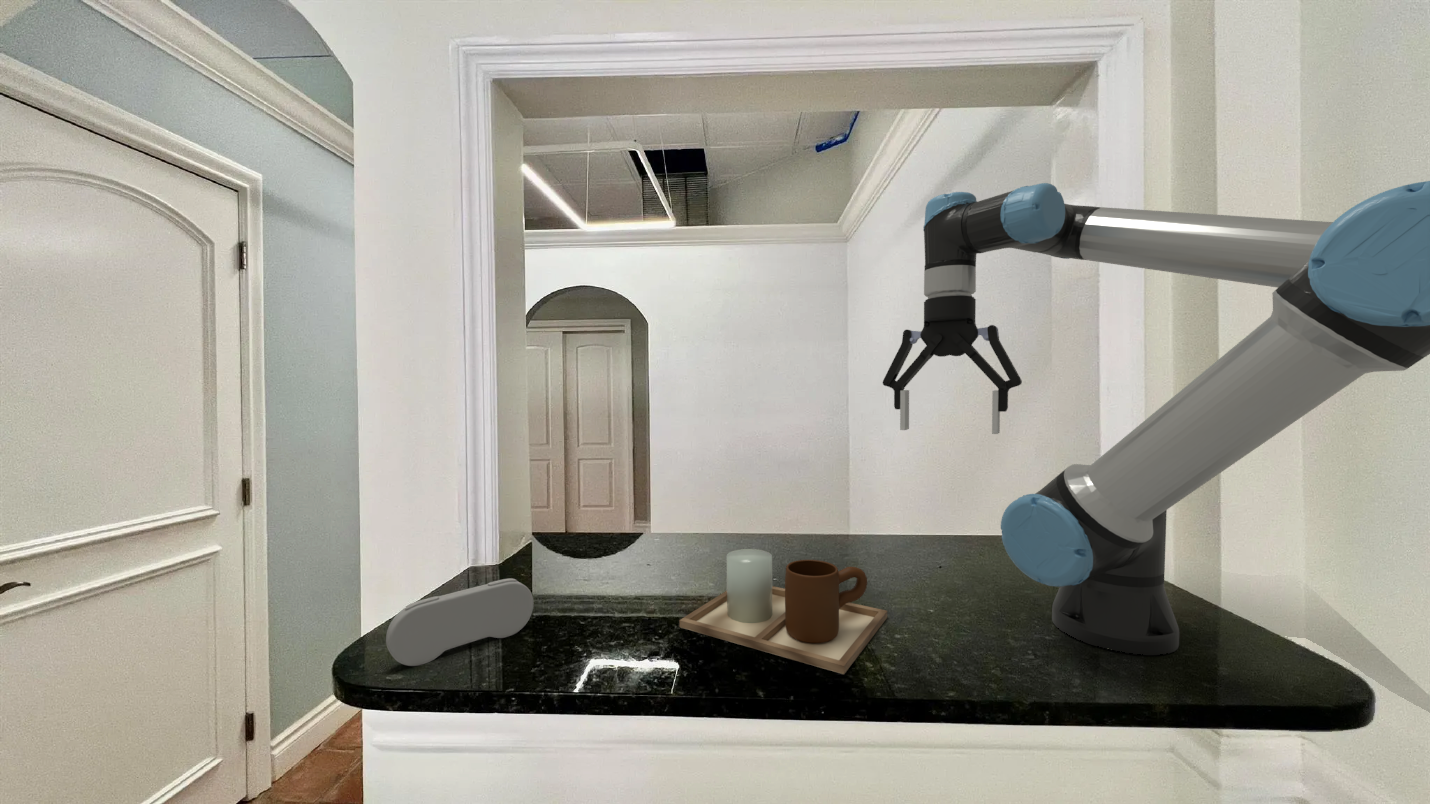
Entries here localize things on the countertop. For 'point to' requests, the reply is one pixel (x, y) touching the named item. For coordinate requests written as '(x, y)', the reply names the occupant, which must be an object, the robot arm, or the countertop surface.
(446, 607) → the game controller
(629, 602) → the countertop surface
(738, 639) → the organizer
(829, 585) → the mug
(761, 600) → the pillar candle
